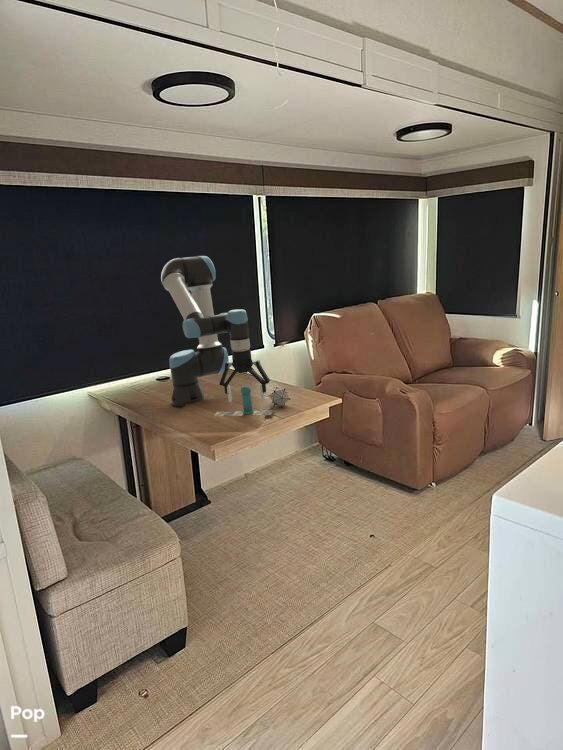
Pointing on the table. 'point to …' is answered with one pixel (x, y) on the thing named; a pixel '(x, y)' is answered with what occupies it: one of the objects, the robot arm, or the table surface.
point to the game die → (279, 397)
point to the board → (239, 413)
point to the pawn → (246, 400)
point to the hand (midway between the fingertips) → (246, 401)
